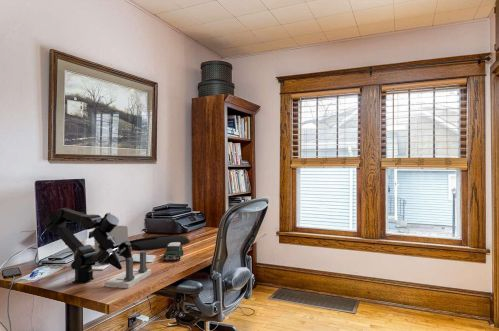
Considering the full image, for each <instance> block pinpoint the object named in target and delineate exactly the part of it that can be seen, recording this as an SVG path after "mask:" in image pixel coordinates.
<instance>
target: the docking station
mask: <svg viewBox="0 0 499 331" xmlns="http://www.w3.org/2000/svg"><path fill="white" fill-rule="evenodd" d="M128 241H129V242H130V243H131V245H130V246H131V247H130V248H131V251H132V250H134V251H135V250H136V251H140V252H142V251H152V250H153V251H154V250H161V249H167V246H168V244H169V243H173V242H179V243H181V245H182V246H184V245H186V244H189V243H190V242H191V241H190V239H189V237H187V236H184V235H180V234H171V235H170V234H169V235H168V234H166V235H154V236H147V237H142V238H137V239H132V240H128Z"/></svg>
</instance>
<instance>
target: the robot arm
mask: <svg viewBox="0 0 499 331" xmlns="http://www.w3.org/2000/svg"><path fill="white" fill-rule="evenodd" d="M67 221H71V222H74V223H76V224H79V225H80V227H82V228H83V229H85V230H87V231H88V230H91V231H89V232H88V239H89V240H90V239H91V238H93V240H94V239H95V240H96V241H97V242H98V244H99V246H98V248H99V249H100V251H99V252H97V253H98V254H97V253H96V251H95V247H93V246H92V245H91V244H86V245H84V244H83V243H82V242H81V241H80V240H79V239H78V238H77V237H76V235H75V234H74V233H73V232H72V231H71V230H70V229H69V228H68V227H67ZM119 224H120V219H119V218H118V217H117V216H116V215H114V214H112V213H111V212H107V213H105V214H104V216H103V217H102V216H101V215H99V214H86V213H83V212H80V211H76V210H74V209H71V208H69V207H64V208H59V209H57V210H56V211H54V212H53V213H51V214H49V215H47V216H45V217H44V218H43V220H42V226H43V227H44V229H45V230H46V231H49V232H50V233H54V234H56V235H57V237H59V238H60V239H61V241H62V242H64V244H65V245H66V246H67V247H68V249H70V250H71V252H72V253H73V259H74V260H73V261H72V262H71V263H70V267H71V269H72V270H75V271H74V279H73V280H72V283H73V284H75V283H77V284H86V283H89V282H91V281H92V280H94V279H95V277H94V275H93V274H94V272H93V266H95V265H96V263H98V264H100V265H102V264H109V265H111V266H113V267H114V268H116V269H118V270H119V271H120V270H122V269H123V267H122V264H121V261H120V262H119V260H118V258H117V256H116V254H115V253H117V254H120V255H119V256H123V257H124V258H125V260H126V259H127V258H130V257H131V258H133V255H132V249H131V246H130V245H131V243H130V242H129V241H130V240H128V241H125V242H122V243H121V244H120V243H119V242H118V243H117V242H116V241H115V240H114V239H113V238H114V236H111V235H110V234H109V233H110V232H111V231H112V230H113V229H114V228H115V227H116V226H118V225H119Z"/></svg>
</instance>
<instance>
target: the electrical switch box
mask: <svg viewBox="0 0 499 331" xmlns="http://www.w3.org/2000/svg"><path fill="white" fill-rule="evenodd" d="M128 229H129V228H128V226H127V225H117V226H116V227H115V228H114V229H113V230H112V231H111V232H110V233H109V234H110V235H111V236H114V238H113V239H114V240H115V241H116V242H117V243H118V242H119V243H120V244H121V243H122V242H125V241H129V234H128V233H129V232H128ZM93 240H94V249H95V251H96V253H97V252H99V251H100V249H99V248H98V246H99V244H98V242H97V241H96V240H95V239H94V238H93ZM97 254H98V253H97ZM115 254H116V256H117V258H118V260H119V262H120V263H121V261H124V260H125V261H126V259H125V258H124V257H123V256H119V255H120V254H117V253H115Z"/></svg>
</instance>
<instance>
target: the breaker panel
mask: <svg viewBox="0 0 499 331" xmlns="http://www.w3.org/2000/svg"><path fill="white" fill-rule="evenodd" d="M139 269H140V268H134V267H133V276H135V278H134V279H132V280H131V281H126V280H124V278H125V277H126V270H123V271H122V272H121V273H119V274H117V275H115V276H114V277H112V278H110V279H107V280H106V281H104V287H105V288H117V287H118V289H119V288H120V289H130V288H131V287H133V286H134V285H135V284H137V283H139V282H140V281H142V280H143V279H145V278H147V277H148V276H150V275H151V274H152V269H151V268H150V269H149V268H148V270H147V271H145V272H138V270H139Z"/></svg>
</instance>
